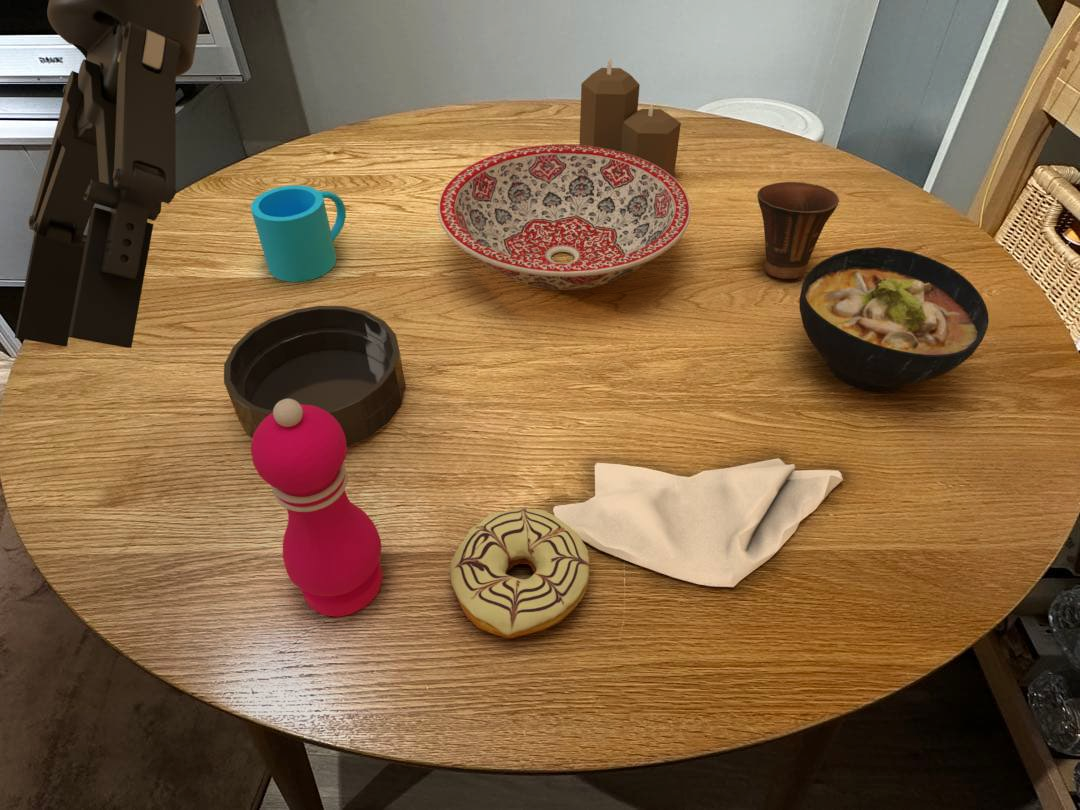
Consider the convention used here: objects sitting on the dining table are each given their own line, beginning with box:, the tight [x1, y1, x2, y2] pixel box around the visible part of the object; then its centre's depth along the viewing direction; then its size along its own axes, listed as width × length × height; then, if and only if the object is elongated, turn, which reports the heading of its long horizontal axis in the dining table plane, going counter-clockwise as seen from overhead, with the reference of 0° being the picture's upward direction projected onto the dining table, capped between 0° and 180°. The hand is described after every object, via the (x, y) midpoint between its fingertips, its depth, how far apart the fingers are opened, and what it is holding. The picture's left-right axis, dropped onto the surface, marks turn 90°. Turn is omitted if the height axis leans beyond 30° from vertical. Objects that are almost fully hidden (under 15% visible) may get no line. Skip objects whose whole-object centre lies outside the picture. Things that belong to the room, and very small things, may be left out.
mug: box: [250, 184, 347, 283], centre depth 93 cm, size 12×8×8 cm
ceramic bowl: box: [437, 144, 692, 291], centre depth 92 cm, size 29×29×8 cm
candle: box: [578, 57, 682, 178], centre depth 105 cm, size 14×14×15 cm
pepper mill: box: [250, 399, 383, 617], centre depth 55 cm, size 7×7×20 cm
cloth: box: [552, 457, 844, 588], centre depth 65 cm, size 26×14×2 cm, turn 91°
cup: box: [756, 181, 840, 280], centre depth 90 cm, size 9×9×10 cm
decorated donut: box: [449, 507, 590, 639], centre depth 60 cm, size 10×11×4 cm
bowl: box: [798, 246, 990, 393], centre depth 77 cm, size 17×17×10 cm
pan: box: [223, 305, 407, 449], centre depth 75 cm, size 16×16×6 cm
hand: (67, 343), depth 44 cm, fingers open, 13 cm apart
